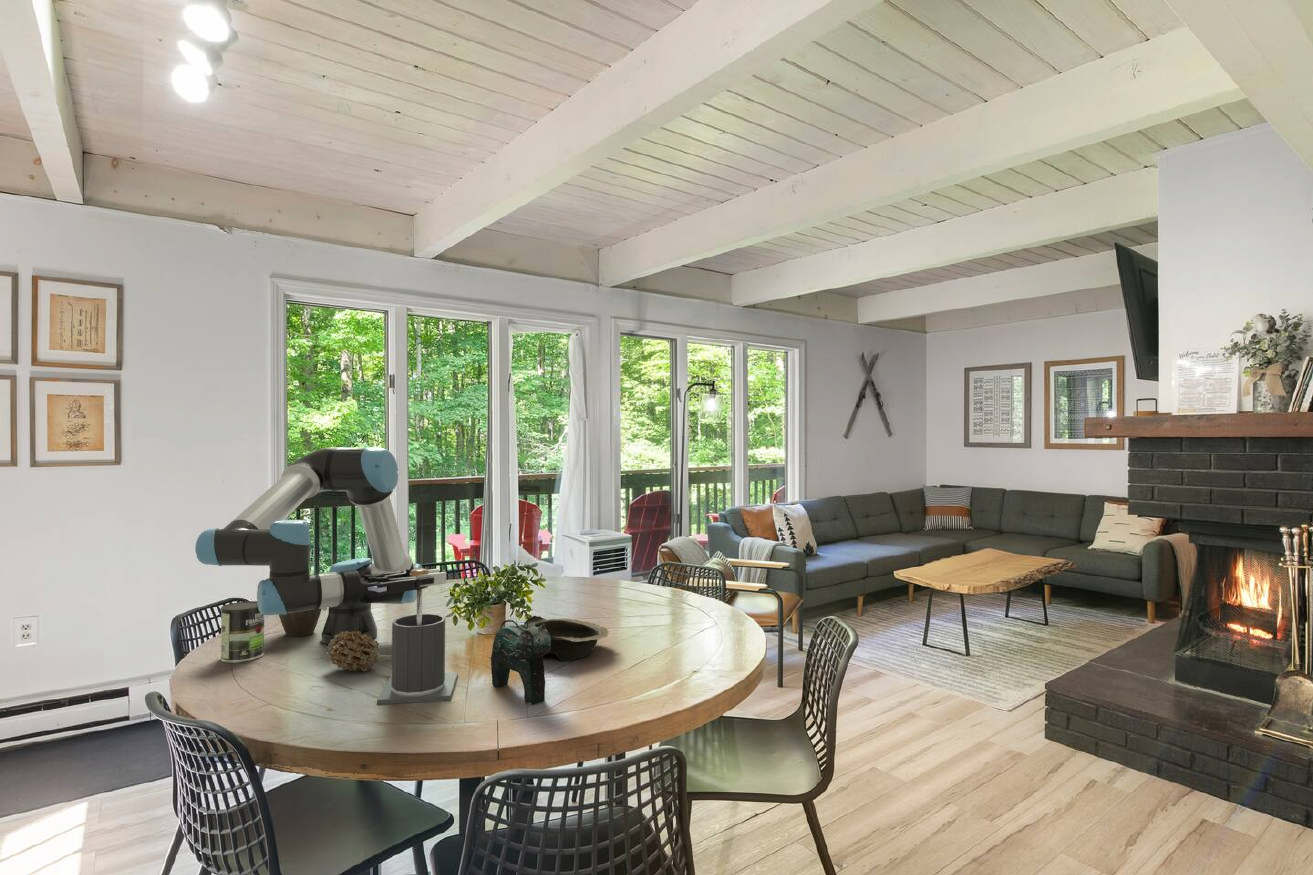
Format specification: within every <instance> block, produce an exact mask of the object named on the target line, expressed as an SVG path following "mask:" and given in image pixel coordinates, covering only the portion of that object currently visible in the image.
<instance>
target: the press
mask: <svg viewBox="0 0 1313 875" xmlns="http://www.w3.org/2000/svg"><path fill="white" fill-rule="evenodd" d="M416 625H417V613H415V614H408V615H403V616H399V617H398V618H394V619H393V621H392V622H391V628H392V630H391V632H392V633H391V655H392V660H391V675H390V677H389V678H388V680H387V682H386V683H385V685H384V687H383V689H382V691H381V692H380V694H379V696H378V697H377V700H376V705H386V704H387V705H388V704H405V703H406V704H407V703H422V702H436V701H437V702H440V701H451V700H452V696H453V692H454V689H455V687H456V684H457V679H458V673H459V672H457V671H455V672H454V671H453V672H451V671H450V672H445V671H446V616H444V615H442V614H437V613H436V614H435V613H422V626H416Z"/></svg>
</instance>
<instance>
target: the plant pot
mask: <svg viewBox="0 0 1313 875" xmlns="http://www.w3.org/2000/svg"><path fill="white" fill-rule="evenodd" d="M322 611H323V610H322V608H321V609H315V610H307V611H301V612H295V613H289V614H285V615H284V614H278V617H279V620H280V623H281V625H282V628H283V630H284V632H285V635H286V636H287V637H290V638H297V637H298V638H301V637H306V636H309V635H312V634H313V633H315V631H316V626H317V625H318V622H319V619H320V615H321V613H322Z"/></svg>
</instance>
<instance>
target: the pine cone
mask: <svg viewBox="0 0 1313 875" xmlns="http://www.w3.org/2000/svg"><path fill="white" fill-rule="evenodd" d="M330 641H331V643H330V644H328V645H327V646H326V648H327V650H328V651H327V652H326V656H327V657H328V658H327V660H328V661H330V662H331V664H332V665H337V668H338V669H341V670H346V669H348V670H349V671H355V672H357V671H362V672H367V671H368V670H370V667H372V666H373V664H374V663H375V664H376V663H377V662H380V661H392V654H387V655H386V654H383V655H382V654H381V653H380V652H379V646H380V644H379V643H380V642H378V640H375V639H372V637H371V636H367V635H366V634H364V635H362V634H361V632H360V631H358V632H356V631H352V632H348V631H345V632H340V633H339V635H335V636H334V639H332V640H330Z"/></svg>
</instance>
